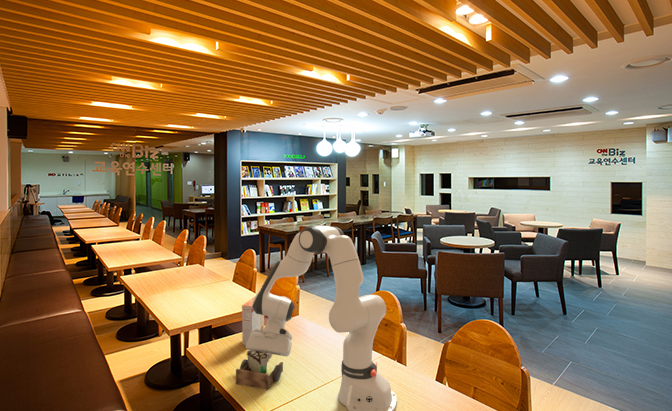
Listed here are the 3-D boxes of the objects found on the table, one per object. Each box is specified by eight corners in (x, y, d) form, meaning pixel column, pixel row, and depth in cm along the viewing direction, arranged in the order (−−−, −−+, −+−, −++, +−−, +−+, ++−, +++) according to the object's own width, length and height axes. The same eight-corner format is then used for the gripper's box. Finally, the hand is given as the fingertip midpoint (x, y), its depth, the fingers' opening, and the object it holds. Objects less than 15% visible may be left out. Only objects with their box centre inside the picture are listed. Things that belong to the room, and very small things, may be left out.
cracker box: (254, 334, 194) (254, 296, 193) (264, 335, 193) (264, 297, 191) (241, 345, 180) (241, 304, 179) (252, 347, 179) (252, 306, 178)
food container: (274, 379, 150) (274, 356, 149) (261, 385, 146) (261, 361, 145) (259, 368, 159) (259, 346, 158) (246, 373, 155) (246, 350, 154)
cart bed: (285, 371, 157) (285, 358, 156) (269, 390, 142) (269, 376, 142) (251, 365, 161) (251, 352, 161) (233, 383, 147) (233, 369, 146)
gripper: (250, 326, 163) (238, 356, 154) (291, 332, 158) (282, 364, 149) (255, 331, 168) (244, 361, 159) (295, 337, 162) (286, 369, 153)
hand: (263, 363), depth 154 cm, fingers closed
